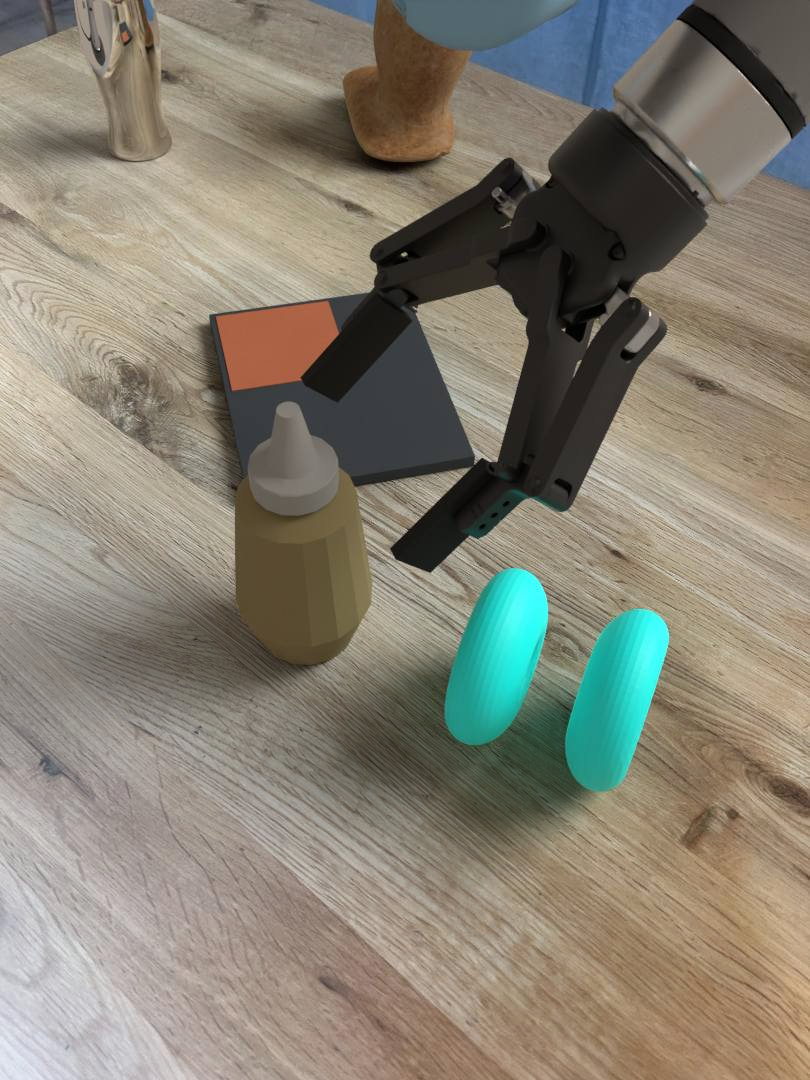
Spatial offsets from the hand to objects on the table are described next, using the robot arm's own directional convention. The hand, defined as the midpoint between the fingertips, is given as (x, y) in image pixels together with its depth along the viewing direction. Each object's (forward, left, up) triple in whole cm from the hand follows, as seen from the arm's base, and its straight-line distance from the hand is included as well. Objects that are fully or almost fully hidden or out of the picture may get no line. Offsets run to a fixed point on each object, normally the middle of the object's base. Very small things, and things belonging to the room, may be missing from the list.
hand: (360, 470), depth 56 cm
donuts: (+10, +8, -13) cm, 18 cm away
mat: (-21, +2, -12) cm, 24 cm away
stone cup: (-57, +17, -13) cm, 60 cm away
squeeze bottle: (0, -4, -13) cm, 13 cm away
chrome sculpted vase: (-60, -9, -13) cm, 62 cm away
